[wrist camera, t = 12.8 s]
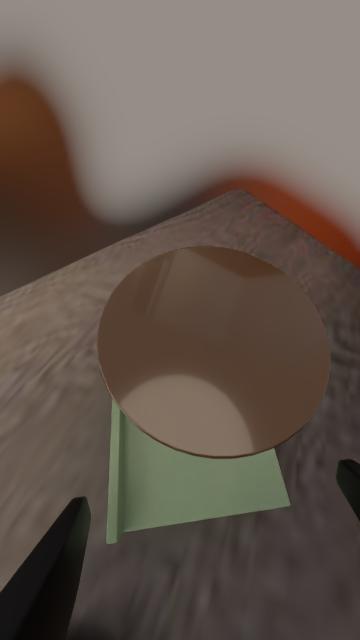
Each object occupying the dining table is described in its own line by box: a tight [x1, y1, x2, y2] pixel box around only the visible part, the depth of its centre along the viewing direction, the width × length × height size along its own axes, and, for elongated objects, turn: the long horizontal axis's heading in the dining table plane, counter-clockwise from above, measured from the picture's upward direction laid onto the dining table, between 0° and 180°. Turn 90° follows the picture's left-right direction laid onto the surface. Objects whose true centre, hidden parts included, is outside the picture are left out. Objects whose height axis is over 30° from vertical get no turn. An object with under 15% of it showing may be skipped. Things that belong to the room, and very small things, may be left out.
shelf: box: [106, 398, 290, 544], centre depth 18 cm, size 16×11×6 cm
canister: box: [97, 246, 331, 459], centre depth 11 cm, size 6×6×12 cm
